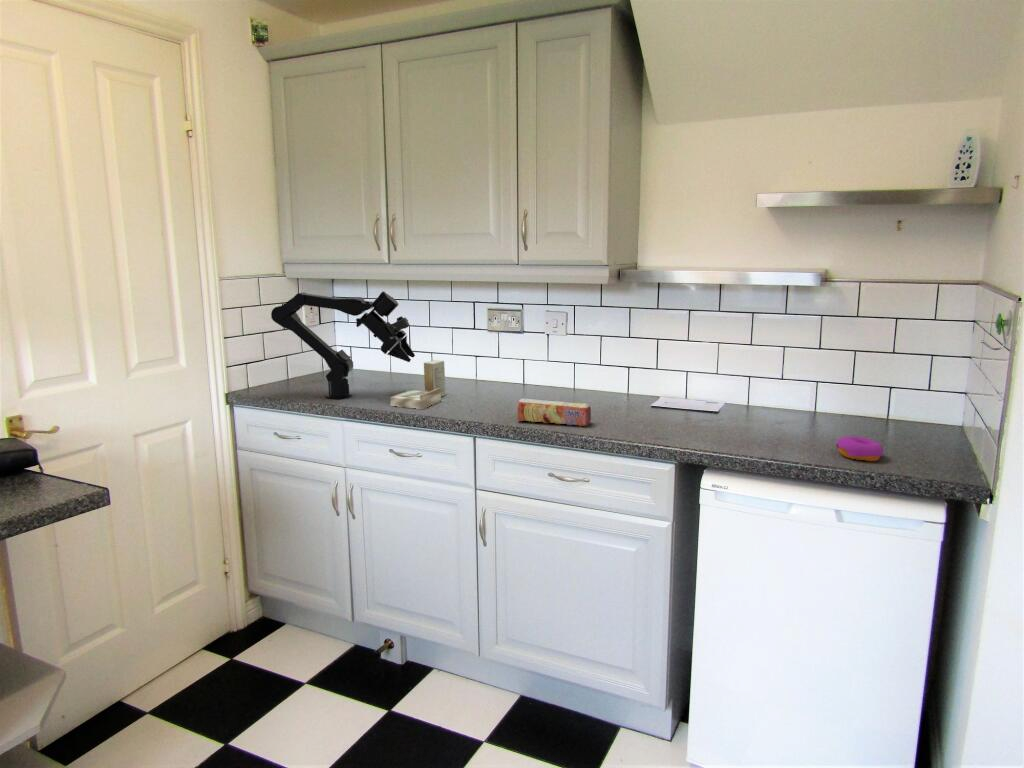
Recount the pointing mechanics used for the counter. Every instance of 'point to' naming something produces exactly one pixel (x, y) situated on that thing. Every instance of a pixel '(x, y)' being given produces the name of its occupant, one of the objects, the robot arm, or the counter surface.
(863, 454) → the donut
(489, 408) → the counter surface
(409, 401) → the stand
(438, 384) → the skincare box
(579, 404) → the snack package
